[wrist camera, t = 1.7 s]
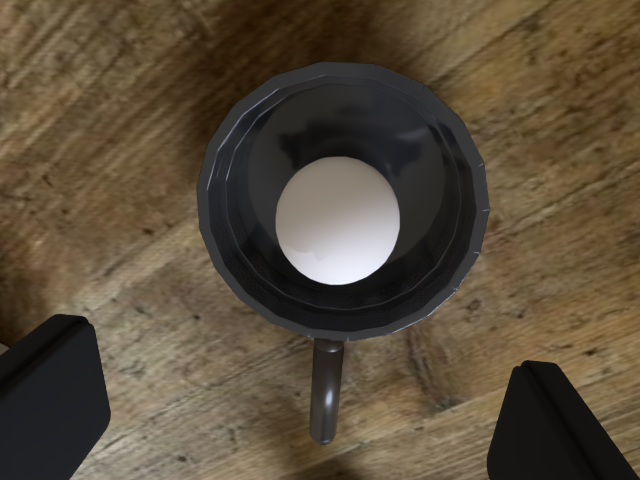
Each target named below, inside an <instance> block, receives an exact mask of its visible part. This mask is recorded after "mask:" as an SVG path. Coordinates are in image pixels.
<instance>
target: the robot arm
mask: <svg viewBox="0 0 640 480" xmlns="http://www.w3.org/2000/svg"><path fill="white" fill-rule="evenodd" d="M110 417H111V411H110V406H109V401H108V396H107V391H106V385H105V380H104V375H103V370H102V365H101V359H100V354H99V349H98V344H97V339H96V333H95V329H94V326H93V325H92V324H90V323H89V322H88V320H87V319H86V317H83V316H76V315H65V314H56V315H54V316H52V317H50V318H49V319H48V320H46V321H45V322H44V323H42V324H41V325H40V326H38V327H37V328H36V329H34V330H33V331H32V332H30V333H29V334H28V335H26V336H25V337H24V338H23V339H21V340H20V341H19V342H17V343H16V344H15V345H13V346H12V347H11V348H9V349H8V350H7V351H5V352H4V353H3V354H1V355H0V480H70V478H71V477H72V475H73V474H74V473H75V471H76V470H77V469H78V467H79V466H80V465H81V463H82V462H83V460H84V459H85V458H86V456H87V455H88V454H89V452H90V451H91V450H92V448H93V447H94V445H95V444H96V443H97V441H98V440H99V439H100V437H101V436H102V435H103V433H104V432H105V430H106V429H107V427H108V425H109V422H110ZM487 471H488V475H489V479H490V480H640V479H639V477H638V476H637V474H636V473H635V472H634V470H633V469H632V467H631V466H630V465H629V463H628V462H627V461H626V459H625V458H624V456H623V455H622V454H621V452H620V451H619V449H618V448H617V447H616V445H615V444H614V442H613V441H612V440H611V438H610V437H609V435H608V434H607V433H606V431H605V430H604V428H603V427H602V426H601V424H600V423H599V422H598V420H597V419H596V417H595V416H594V415H593V413H592V412H591V410H590V409H589V408H588V406H587V405H586V403H585V402H584V401H583V399H582V398H581V396H580V395H579V394H578V392H577V391H576V390H575V388H574V387H573V385H572V384H571V383H570V381H569V380H568V378H567V377H566V376H565V374H564V373H563V371H562V370H561V369H560V367H559V366H558V365H557V364H555V363H550V362H540V361H530V360H526V361H524V362H523V363H522V364H521V366H516V367H514V368H513V371H512V373H511V377H510V380H509V384H508V387H507V390H506V394H505V397H504V401H503V404H502V407H501V411H500V414H499V418H498V421H497V424H496V428H495V431H494V435H493V438H492V441H491V445H490V448H489V452H488V455H487Z"/></svg>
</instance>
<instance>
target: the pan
mask: <svg viewBox="0 0 640 480" xmlns="http://www.w3.org/2000/svg"><path fill="white" fill-rule="evenodd" d="M326 157H349V158H353V159H358V160H360V161H362V162H364V163H366V164H368V165H370V166H372V167H374V168H375V169H376V170H377V171H378V172H379V173H380V174H381V175H382V176H383V177H384V178H385V179H386V180H387V182H388V183H389V184H390V186H391V187H392V189H393V192H394V194H395V196H396V199H397V201H398V207H399V213H400V229H399V233H398V237H397V240H396V243H395V246H394V248H393V250H392V252H391V254H390V255H389V257H388V258H387V260H386V262H385V263H384V264H383V265H382V266H381V267H380V268H379V269H377V270H376V271H374V272H373V273H371V274H370V275H369V276H367V277H365V278H363V279H360V280H358V281H355V282H352V283H348V284H343V285H330V284H325V283H320V282H317V281H315V280H312V279H310V278H309V277H307V276H305V275H304V274H302V273H301V272H299V271H298V270H297V269H296V268H295V267H294V266H293V265H292V264H291V262H290V261H289V260H288V259H287V257H286V256H285V255H284V253H283V251H282V249H281V247H280V244H279V241H278V237H277V233H276V212H277V205H278V201H279V199H280V197H281V194H282V192H283V190H284V188H285V187H286V185H287V184H288V182H289V181H290V179H291V178H292V177H293V176H294V175H295V174H296V173H297V172H298V171H299V170H301V169H302V168H304V167H305V166H307V165H308V164H310V163H312V162H314V161H317V160H319V159H322V158H326ZM197 202H198V216H199V229H200V232H201V235H202V237H203V240H204V242H205V245H206V247H207V250H208V252H209V255H210V257H211V260H212V263H213V265H214V267H215V269H216V270H217V272H218V273H219V274H220V275H221V277H222V278H223V279H224V281H225V282H226V283H227V284H228V286H229V287H230V288H231V289H232V291H233V292H234V293H235V295H236V296H237V297H238V298H239V299H240V300H241V301H242V302H244V303H245V304H246V305H248V306H249V307H250V308H252V309H253V310H255V311H256V312H257V313H259V314H260V315H261V316H263V317H264V318H266V319H267V320H268V321H270V322H271V323H273V324H275V325H278V326H280V327H283V328H286V329H288V330H291V331H294V332H296V333H299V334H301V335H304V336H307V337H311V338H321V339H330V340H340V341H355V340H361V339H367V338H374V337H380V336H386V335H388V334H389V335H390V334H392V333H394V332H396V331H399V330H401V329H403V328H405V327H407V326H410V325H412V324H414V323H416V322H418V321H420V320H423V319H425V317H428V316H429V315H430V314H431V313H432V312H433V311H435V310H436V309H437V308H438V307H439V306H440V305H441V304H443V303H444V302H445V301H446V300H447V299H448V298H449V297H451V296H452V295H453V294H454V293H455V292H456V291H457V290H458V289H459V287H460V285H461V284H462V282H463V280H464V279H465V277H466V276H467V274H468V272H469V271H470V269H471V267H472V266H473V264H474V262H475V261H476V259H477V258H478V256H479V253H480V251H481V247H482V242H483V238H484V233H485V229H486V225H487V220H488V216H489V209H490V207H489V199H488V190H487V182H486V174H485V165H484V162H483V160H482V158H481V156H480V154H479V152H478V150H477V148H476V146H475V144H474V142H473V140H472V138H471V136H470V134H469V132H468V130H467V128H466V126H465V124H464V122H463V120H461V118H460V117H459V116H458V115H457V114H456V113H455V112H454V111H452V110H451V109H450V108H449V107H448V106H447V105H446V104H445V103H444V102H443V101H442V100H441V99H440V98H438V97H437V96H436V95H435V94H434V93H433V92H432V91H431V90H430V89H429V88H428V87H427V86H426V85H423V84H422V83H420V82H418V81H415V80H413V79H410V78H408V77H406V76H403V75H401V74H399V73H396V72H394V71H391V70H389V69H387V68H384V67H382V66H380V65H377V64H376V65H375V64H370V63H351V62H332V61H323V62H318V63H314V64H311V65H308V66H305V67H301V68H298V69H295V70H291V71H288V72H285V73H281V74H278V75H275V76H274V77H271V78H270V79H268V80H267V81H266V82H264V83H263V84H262V85H260V86H259V87H258V88H256V89H255V90H254V91H252V92H251V93H250V94H248V95H247V96H245V97H244V98H243V99H241V100H240V101H239V102H237V103H236V104H235V105H234V106H233V107H232V108H231V110H230V111H229V113H228V114H227V116H226V117H225V119H224V120H223V122H222V123H221V125H220V126H219V128H218V129H217V131H216V132H215V134H214V135H213V137H212V138H211V140H210V141H209V143H208V145H207V149H206V152H205V156H204V160H203V164H202V168H201V172H200V175H199V179H198V183H197Z"/></svg>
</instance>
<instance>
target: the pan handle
mask: <svg viewBox="0 0 640 480" xmlns="http://www.w3.org/2000/svg"><path fill="white" fill-rule="evenodd" d="M343 352H344V341H340V340H330V339H321V338H314V350H313V368H312V386H311V404H310V422H309V433H310V436H311V438H312V440H313V441H314V442H315V443H317V444H319V445H326V444H329V443H330V442H331V441H332V440H333V439H334V437H335V435H336V429H337V418H338V407H339V396H340V385H341V374H342V363H343Z"/></svg>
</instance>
